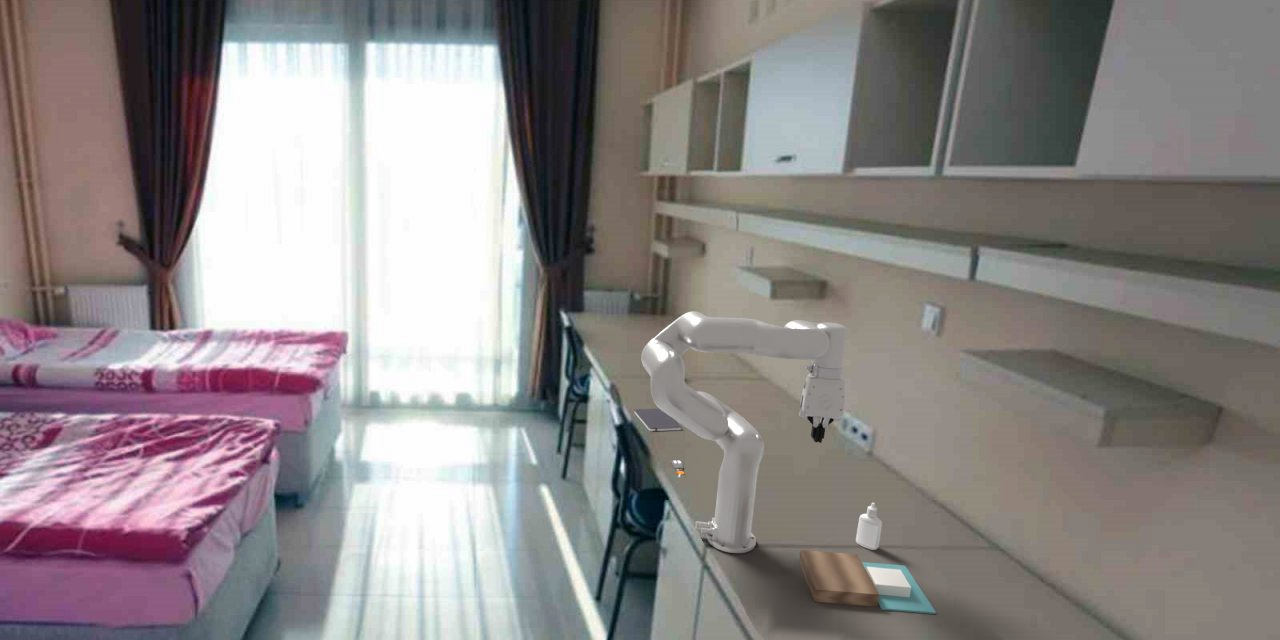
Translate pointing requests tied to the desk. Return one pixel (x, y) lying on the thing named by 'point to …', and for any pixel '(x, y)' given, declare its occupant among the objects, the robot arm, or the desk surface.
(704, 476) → the desk surface
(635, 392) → the desk surface
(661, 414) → the notebook
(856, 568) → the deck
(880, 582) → the tile
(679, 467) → the key chain
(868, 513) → the eye dropper bottle
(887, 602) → the mat
